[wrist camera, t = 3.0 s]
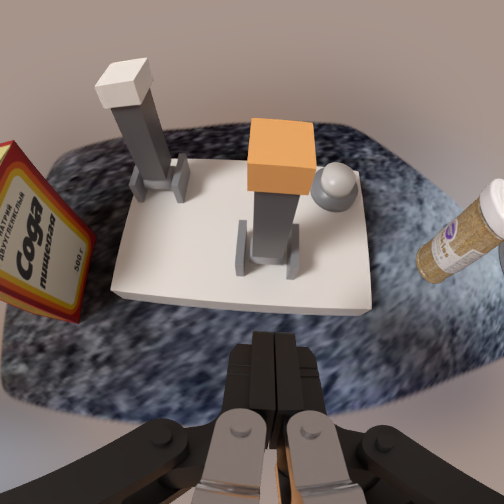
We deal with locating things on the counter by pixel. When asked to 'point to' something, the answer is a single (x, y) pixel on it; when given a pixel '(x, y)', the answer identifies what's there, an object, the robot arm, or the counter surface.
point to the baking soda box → (40, 242)
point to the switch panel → (244, 244)
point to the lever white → (137, 119)
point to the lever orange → (277, 182)
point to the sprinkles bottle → (465, 236)
